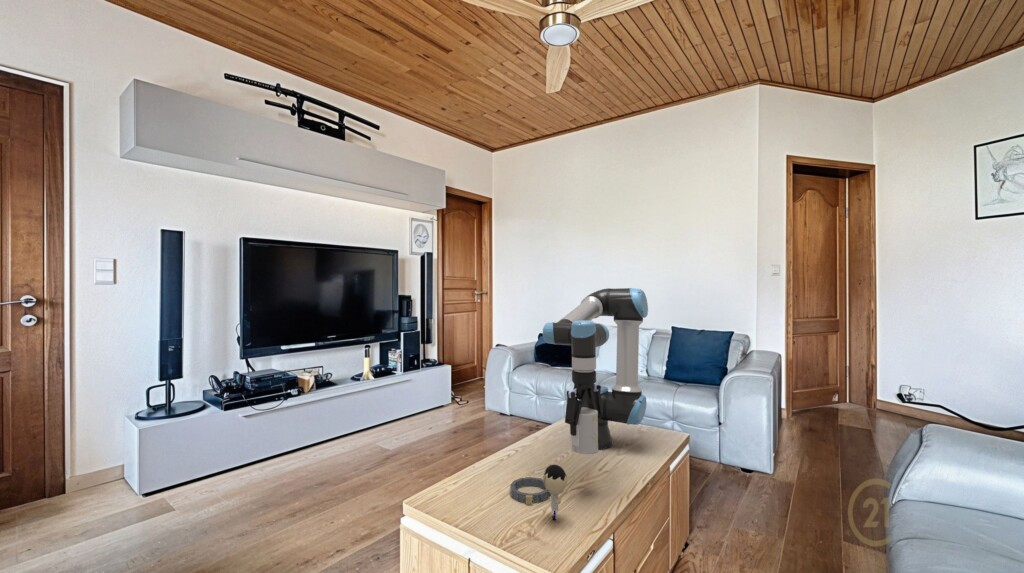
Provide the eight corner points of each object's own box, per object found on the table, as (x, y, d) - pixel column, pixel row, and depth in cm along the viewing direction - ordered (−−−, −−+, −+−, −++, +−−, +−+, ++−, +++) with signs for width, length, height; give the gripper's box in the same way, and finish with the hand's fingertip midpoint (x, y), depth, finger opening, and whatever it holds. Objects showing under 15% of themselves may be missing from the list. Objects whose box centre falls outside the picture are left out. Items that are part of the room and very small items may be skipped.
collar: (531, 481, 146) (531, 474, 146) (558, 494, 136) (558, 486, 136) (502, 492, 138) (502, 484, 138) (528, 507, 128) (528, 499, 128)
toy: (541, 512, 126) (541, 460, 126) (563, 510, 126) (563, 459, 126) (546, 528, 117) (545, 472, 117) (570, 527, 118) (569, 471, 118)
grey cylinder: (598, 454, 132) (597, 415, 132) (571, 453, 134) (570, 414, 134) (598, 444, 140) (597, 408, 140) (572, 443, 142) (572, 406, 142)
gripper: (595, 363, 147) (596, 430, 147) (551, 372, 133) (552, 446, 133) (614, 367, 141) (615, 436, 141) (569, 376, 127) (571, 453, 128)
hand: (584, 441), depth 137 cm, fingers closed on grey cylinder, 8 cm apart
